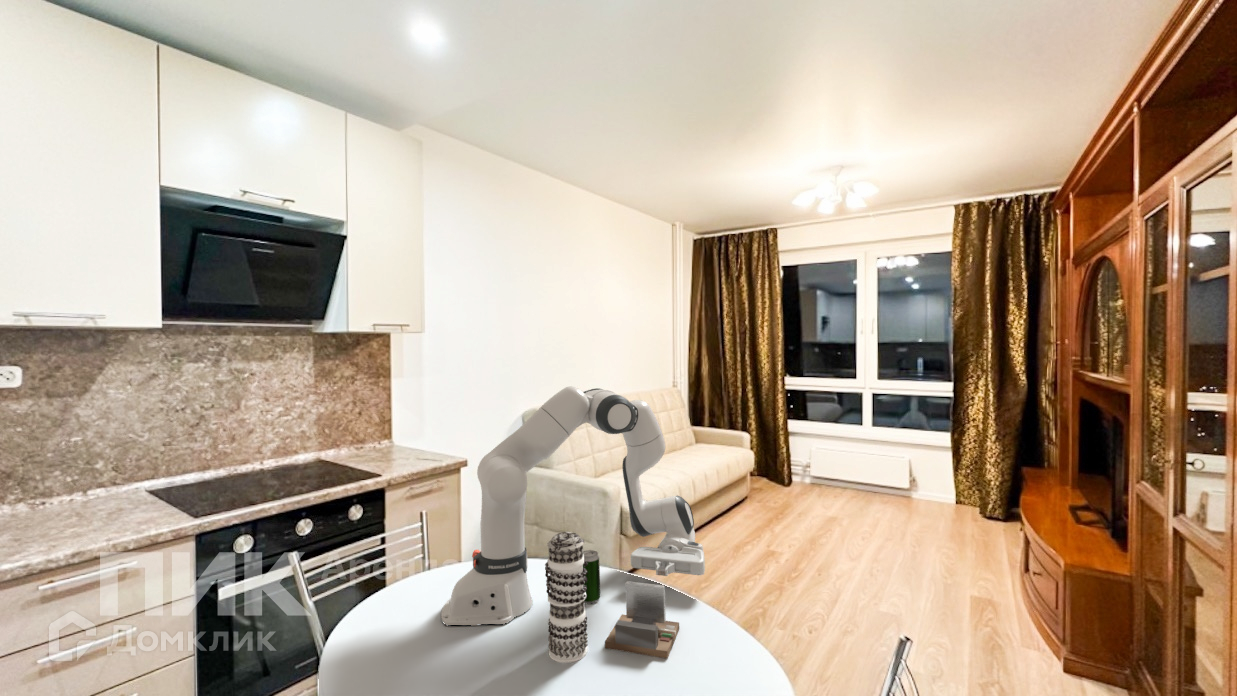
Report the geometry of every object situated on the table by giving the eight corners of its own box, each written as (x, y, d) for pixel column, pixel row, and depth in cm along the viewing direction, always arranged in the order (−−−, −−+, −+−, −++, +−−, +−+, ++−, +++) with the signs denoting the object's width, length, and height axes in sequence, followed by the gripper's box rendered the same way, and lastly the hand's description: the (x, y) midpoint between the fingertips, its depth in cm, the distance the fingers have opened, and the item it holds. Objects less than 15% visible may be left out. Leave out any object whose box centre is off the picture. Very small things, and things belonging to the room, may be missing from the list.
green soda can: (586, 606, 131) (585, 559, 131) (576, 598, 136) (575, 553, 136) (604, 600, 134) (603, 554, 134) (593, 592, 138) (592, 548, 139)
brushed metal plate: (628, 620, 120) (627, 581, 120) (678, 627, 116) (677, 587, 116) (621, 632, 115) (620, 591, 115) (673, 640, 111) (672, 597, 112)
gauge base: (622, 620, 124) (621, 597, 124) (679, 629, 119) (678, 605, 119) (605, 648, 112) (604, 622, 112) (667, 658, 108) (666, 632, 108)
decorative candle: (561, 636, 118) (558, 526, 118) (596, 644, 114) (593, 531, 114) (538, 657, 109) (535, 540, 110) (576, 667, 106) (573, 545, 106)
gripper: (637, 538, 149) (622, 556, 136) (708, 544, 143) (699, 564, 130) (638, 560, 149) (623, 580, 136) (708, 567, 143) (700, 589, 130)
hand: (661, 572), depth 133 cm, fingers closed
